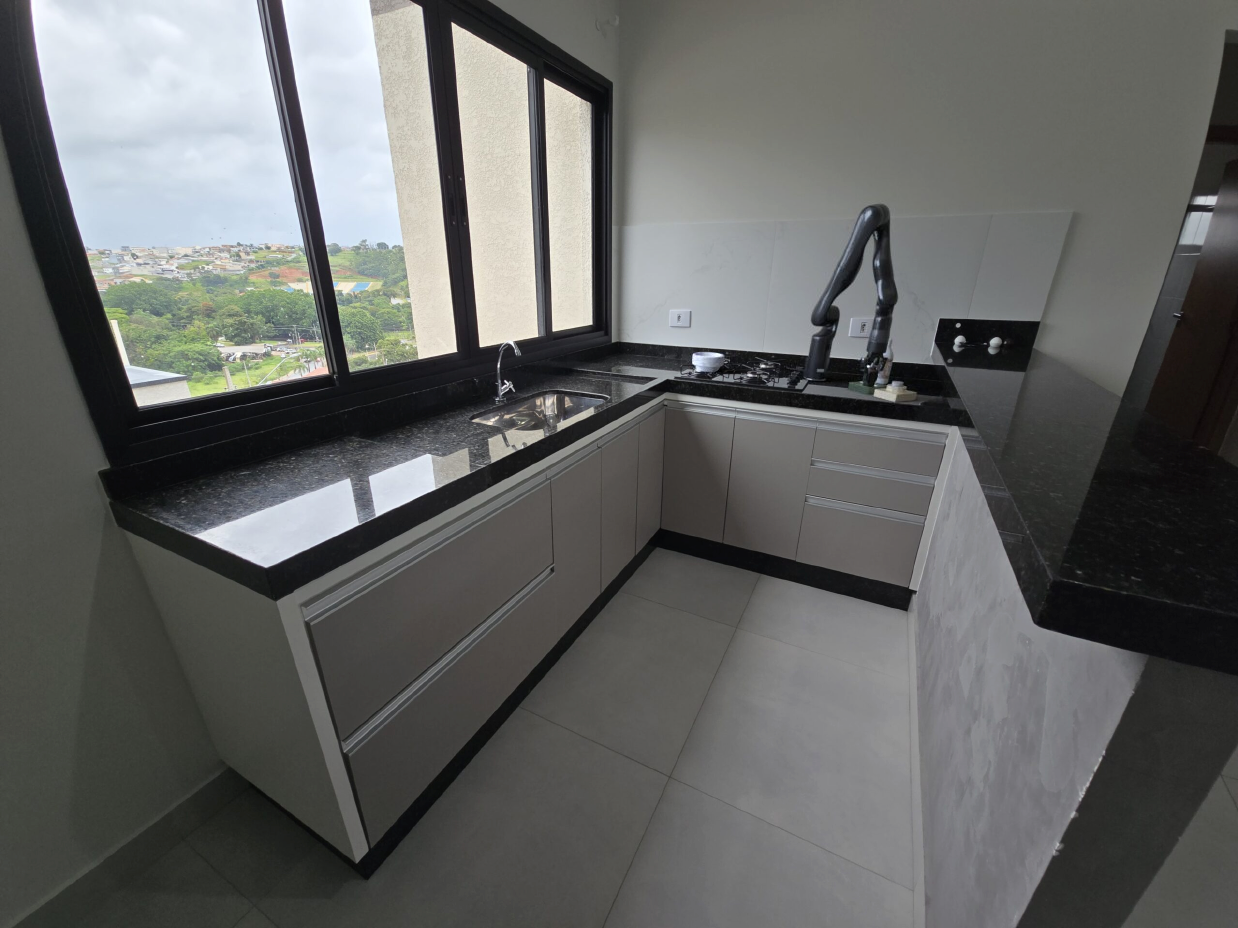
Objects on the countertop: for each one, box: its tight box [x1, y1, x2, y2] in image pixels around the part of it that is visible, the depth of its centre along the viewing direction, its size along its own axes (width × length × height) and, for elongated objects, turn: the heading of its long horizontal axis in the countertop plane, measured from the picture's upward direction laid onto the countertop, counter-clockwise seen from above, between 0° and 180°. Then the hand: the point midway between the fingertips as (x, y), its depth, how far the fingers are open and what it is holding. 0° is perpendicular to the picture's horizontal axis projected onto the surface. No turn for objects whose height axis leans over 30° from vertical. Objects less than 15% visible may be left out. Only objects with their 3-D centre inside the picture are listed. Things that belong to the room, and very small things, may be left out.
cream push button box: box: [873, 383, 918, 403], centre depth 205 cm, size 10×12×5 cm
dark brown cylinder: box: [863, 369, 877, 385], centre depth 214 cm, size 4×4×6 cm
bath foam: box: [875, 338, 895, 385], centre depth 231 cm, size 7×7×20 cm
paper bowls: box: [692, 351, 726, 373], centre depth 245 cm, size 15×15×8 cm
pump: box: [891, 380, 904, 387], centre depth 204 cm, size 4×4×2 cm
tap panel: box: [847, 380, 888, 395], centre depth 216 cm, size 10×12×3 cm
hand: (869, 381), depth 215 cm, fingers closed on dark brown cylinder, 4 cm apart
